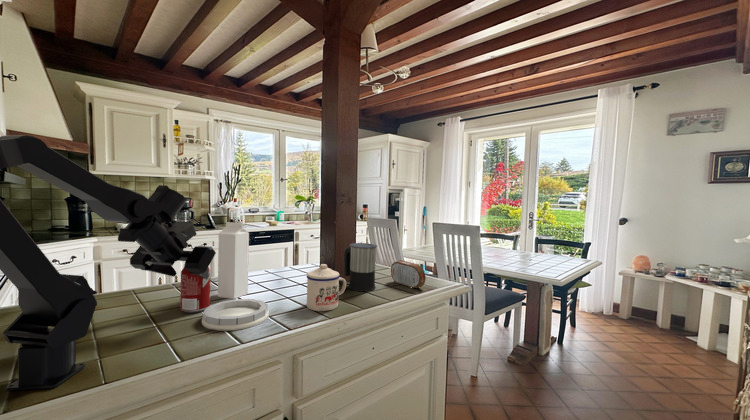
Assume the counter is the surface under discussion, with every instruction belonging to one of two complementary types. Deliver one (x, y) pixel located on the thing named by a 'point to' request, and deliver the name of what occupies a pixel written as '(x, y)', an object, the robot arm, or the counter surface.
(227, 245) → the milk
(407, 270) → the tin
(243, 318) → the ring tray
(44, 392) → the counter surface
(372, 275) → the milk frother
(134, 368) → the counter surface
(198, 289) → the soda can
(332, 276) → the teacup with lid
